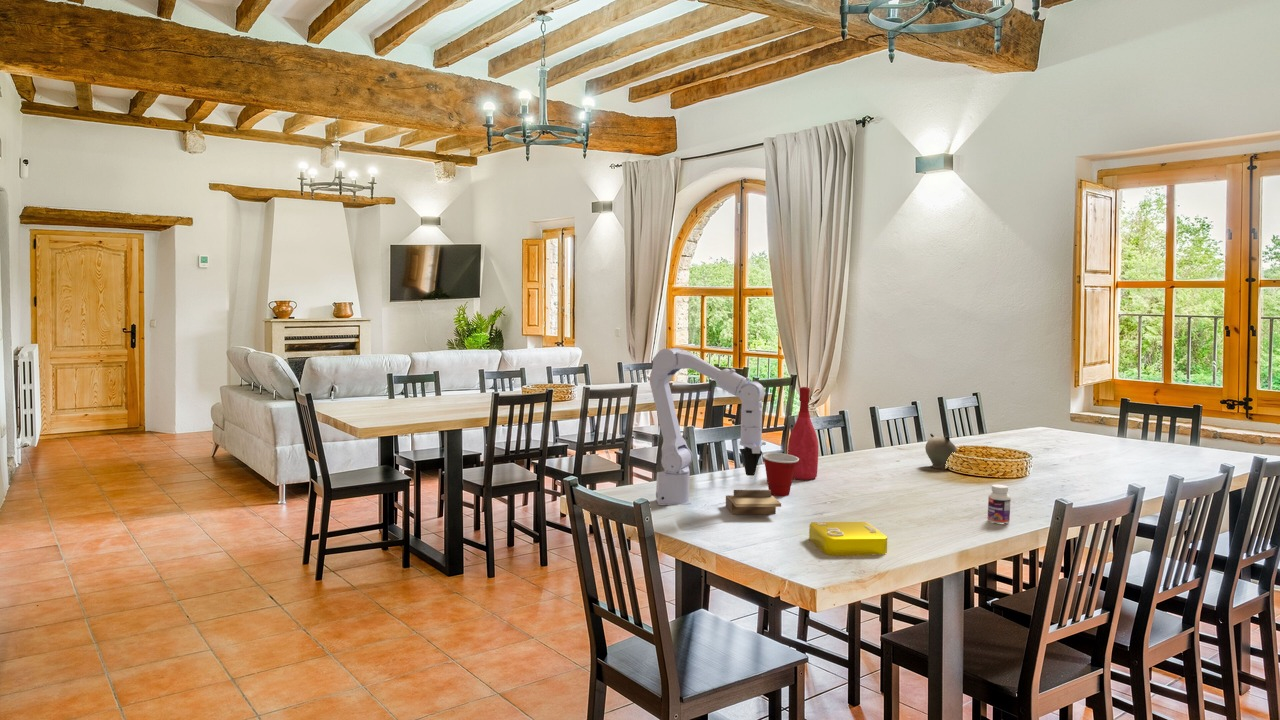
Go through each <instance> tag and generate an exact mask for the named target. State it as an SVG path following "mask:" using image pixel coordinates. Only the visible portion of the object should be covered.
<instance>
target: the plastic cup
mask: <svg viewBox="0 0 1280 720" xmlns="http://www.w3.org/2000/svg"><path fill="white" fill-rule="evenodd" d="M762 458H763V463H764V466H765V477H766V482H767V488H768V489H767V490H771V496H774V497H775V496H776V497H787V496H789V495H790V493H791V487H792V485H793V484H792V483H793V474H794V470H795V467H796V464H797V462H798V461H799V458H797V457H795V456H793V455H788V453H781V452H768V453H764V454H763V453H762Z"/></svg>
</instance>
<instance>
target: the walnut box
mask: <svg viewBox="0 0 1280 720" xmlns="http://www.w3.org/2000/svg"><path fill="white" fill-rule="evenodd" d="M730 496H734V494H731V495H730V494H729V495H728V494H727V495H725V507H726V509H727V510H728V511H729V513H730V514H731V515H776V514H777V512H776V511H777V510H776V509H777V507H736V506H735V505H734V504H733V503H732V501H731V500H730Z"/></svg>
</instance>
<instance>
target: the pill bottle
mask: <svg viewBox="0 0 1280 720" xmlns="http://www.w3.org/2000/svg"><path fill="white" fill-rule="evenodd" d="M1008 491H1009V486H1008V485H1006V484H991V492H990V493H989V494H988V503H987V521H988V522H989V521H990V522H989V523H991V522H993V523H992V524H994V522H995V523H1008V524H1009V523H1010V516H1011V500H1012V499H1011V495H1010V494H1008V493H1009V492H1008Z"/></svg>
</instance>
